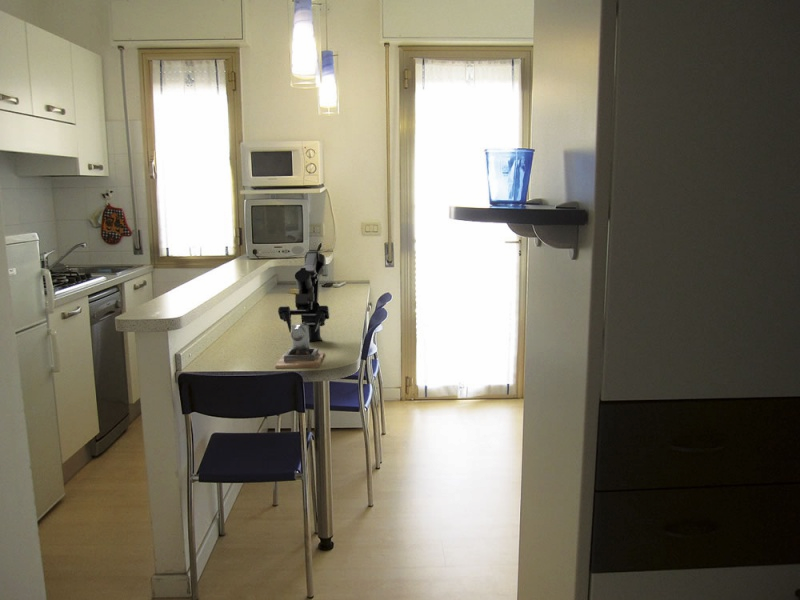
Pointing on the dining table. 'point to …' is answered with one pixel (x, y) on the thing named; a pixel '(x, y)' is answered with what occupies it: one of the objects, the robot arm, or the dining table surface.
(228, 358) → the dining table surface
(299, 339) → the duct elbow
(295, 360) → the base
